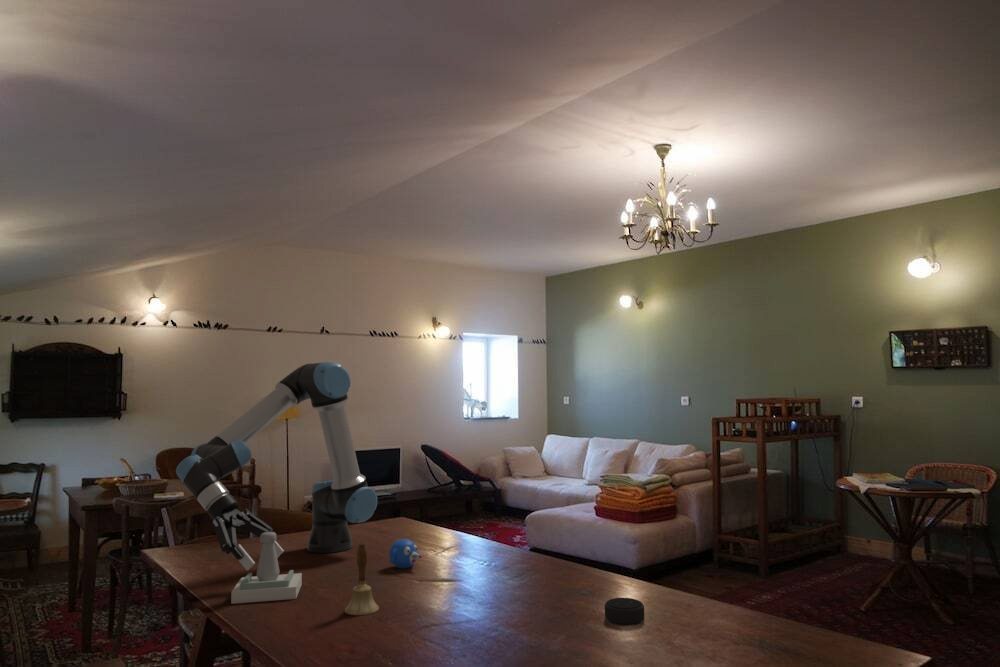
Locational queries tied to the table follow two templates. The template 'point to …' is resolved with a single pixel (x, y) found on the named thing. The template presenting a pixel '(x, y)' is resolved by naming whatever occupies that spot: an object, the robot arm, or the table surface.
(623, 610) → the smart speaker
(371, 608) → the hand bell
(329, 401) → the robot arm
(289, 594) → the dock
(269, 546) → the salt shaker
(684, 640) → the table surface
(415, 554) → the blue rounded piece
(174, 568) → the table surface
